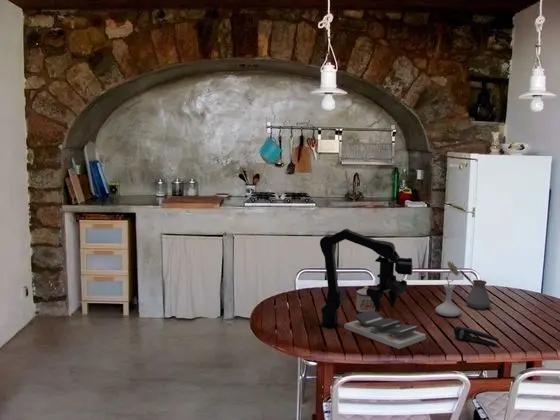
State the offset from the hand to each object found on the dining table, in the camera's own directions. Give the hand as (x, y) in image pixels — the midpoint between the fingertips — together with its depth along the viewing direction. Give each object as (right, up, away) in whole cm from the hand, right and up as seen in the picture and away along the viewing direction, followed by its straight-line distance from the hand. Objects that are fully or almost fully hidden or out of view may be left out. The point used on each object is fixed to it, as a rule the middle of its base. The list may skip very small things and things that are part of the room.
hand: (385, 309), depth 227 cm
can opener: (+35, -12, -7) cm, 38 cm away
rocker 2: (0, -6, 0) cm, 6 cm away
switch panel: (0, -10, +1) cm, 10 cm away
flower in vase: (+35, -8, +28) cm, 45 cm away
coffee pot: (+52, -6, +45) cm, 69 cm away
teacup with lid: (-2, -6, +31) cm, 32 cm away
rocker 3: (+6, -7, -7) cm, 12 cm away
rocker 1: (-5, -5, +7) cm, 10 cm away
